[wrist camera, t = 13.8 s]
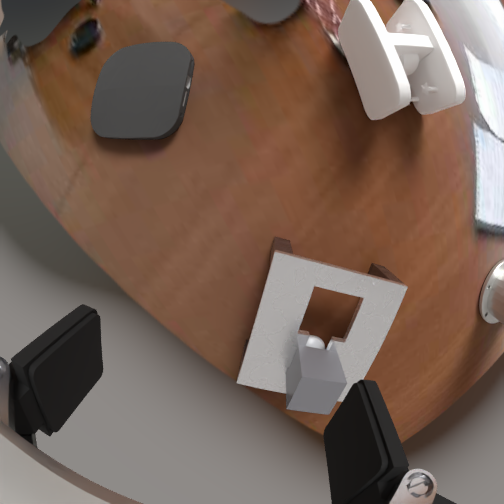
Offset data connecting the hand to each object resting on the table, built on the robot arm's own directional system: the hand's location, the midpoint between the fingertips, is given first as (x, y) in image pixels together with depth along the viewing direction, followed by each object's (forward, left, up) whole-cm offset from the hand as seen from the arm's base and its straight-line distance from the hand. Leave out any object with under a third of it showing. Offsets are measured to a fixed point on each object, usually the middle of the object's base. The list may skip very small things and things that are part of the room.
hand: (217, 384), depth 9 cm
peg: (-10, +12, -24) cm, 29 cm away
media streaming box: (+21, -16, -29) cm, 39 cm away
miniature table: (-10, +9, -28) cm, 31 cm away
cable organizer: (-11, -27, -29) cm, 41 cm away
